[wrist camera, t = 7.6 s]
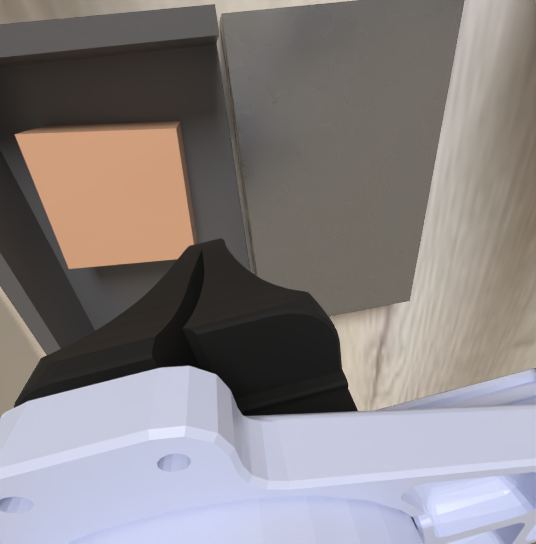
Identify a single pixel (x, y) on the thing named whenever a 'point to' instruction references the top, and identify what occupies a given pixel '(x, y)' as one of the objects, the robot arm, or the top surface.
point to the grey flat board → (339, 140)
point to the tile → (113, 190)
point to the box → (103, 110)
